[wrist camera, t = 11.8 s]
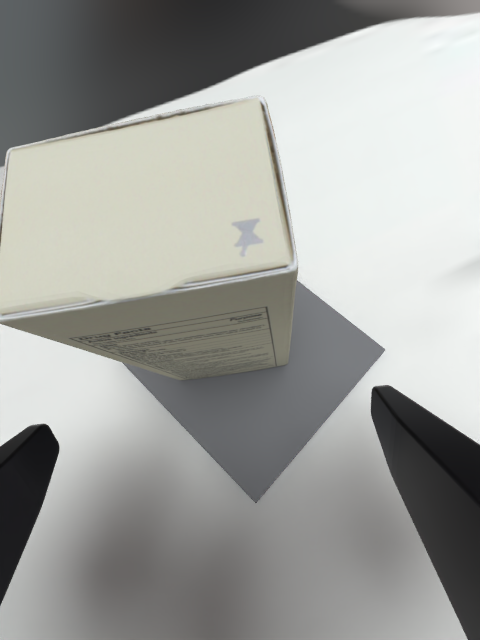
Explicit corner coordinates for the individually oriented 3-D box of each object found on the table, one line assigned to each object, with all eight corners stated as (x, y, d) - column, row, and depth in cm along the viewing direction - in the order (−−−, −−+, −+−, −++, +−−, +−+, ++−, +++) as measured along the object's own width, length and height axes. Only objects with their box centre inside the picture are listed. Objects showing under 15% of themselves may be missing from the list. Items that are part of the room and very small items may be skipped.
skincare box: (277, 290, 19) (281, 82, 7) (289, 367, 17) (321, 268, 6) (166, 307, 19) (-6, 136, 7) (170, 383, 18) (-26, 322, 6)
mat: (383, 351, 18) (385, 349, 17) (256, 501, 16) (255, 503, 16) (199, 206, 21) (198, 202, 21) (83, 319, 20) (79, 317, 19)
